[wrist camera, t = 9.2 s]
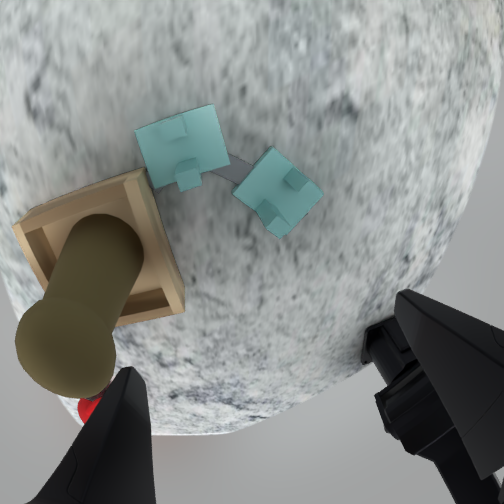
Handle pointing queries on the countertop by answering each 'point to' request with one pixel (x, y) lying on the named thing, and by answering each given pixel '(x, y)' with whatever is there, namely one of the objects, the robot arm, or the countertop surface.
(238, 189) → the clip
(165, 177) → the clip
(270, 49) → the countertop surface
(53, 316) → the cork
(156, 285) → the shallow tan tray
